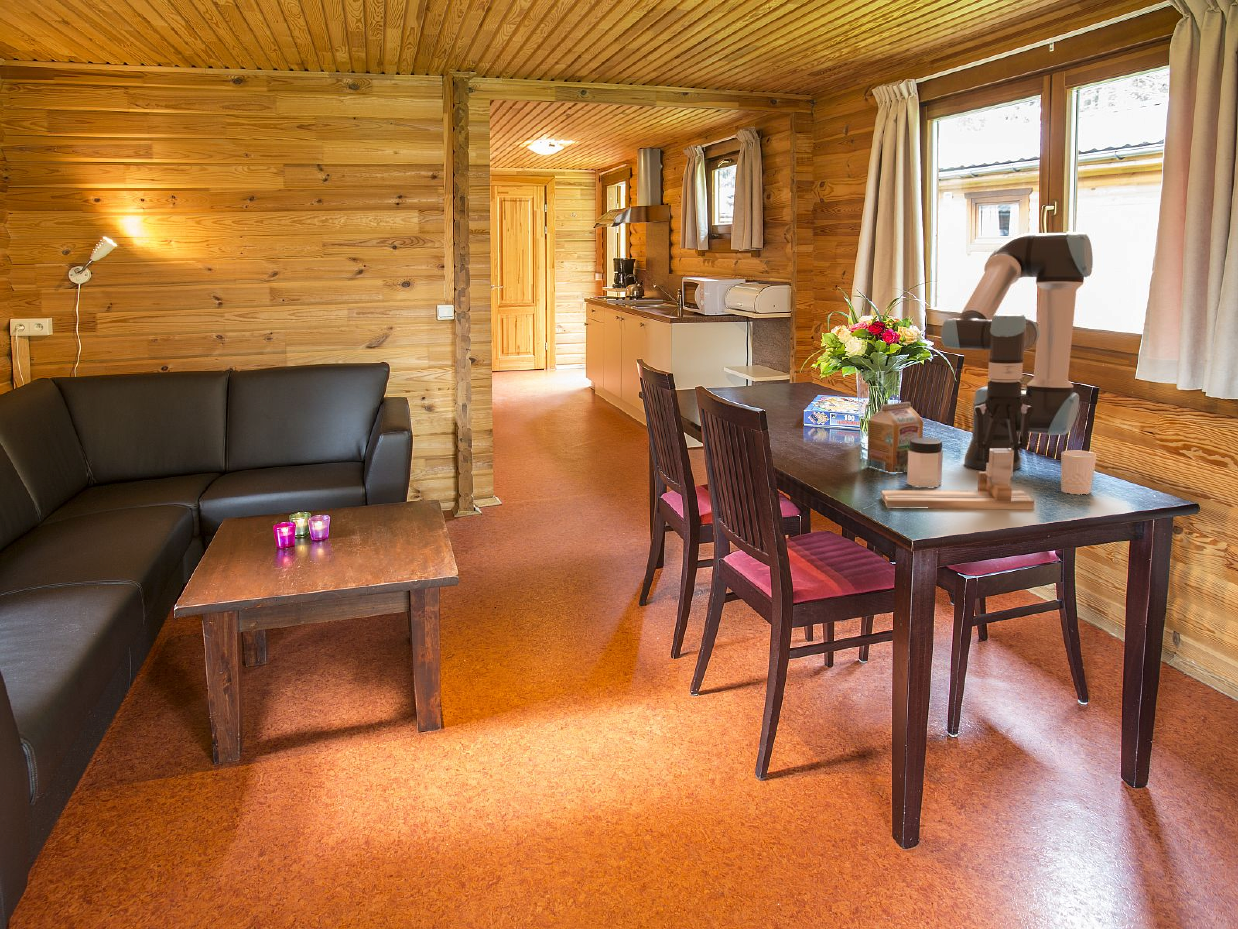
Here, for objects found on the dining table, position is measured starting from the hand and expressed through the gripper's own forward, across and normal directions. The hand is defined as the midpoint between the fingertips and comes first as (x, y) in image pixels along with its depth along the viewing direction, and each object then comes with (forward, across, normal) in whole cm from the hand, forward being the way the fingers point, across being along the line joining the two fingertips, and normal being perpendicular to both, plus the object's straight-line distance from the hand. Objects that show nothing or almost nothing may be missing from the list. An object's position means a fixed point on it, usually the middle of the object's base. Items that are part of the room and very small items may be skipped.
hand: (999, 475), depth 226 cm
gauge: (+7, 0, 0) cm, 7 cm away
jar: (+7, -14, +19) cm, 25 cm away
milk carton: (+7, -19, +38) cm, 43 cm away
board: (+7, -10, 0) cm, 12 cm away
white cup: (+7, +22, +12) cm, 26 cm away
